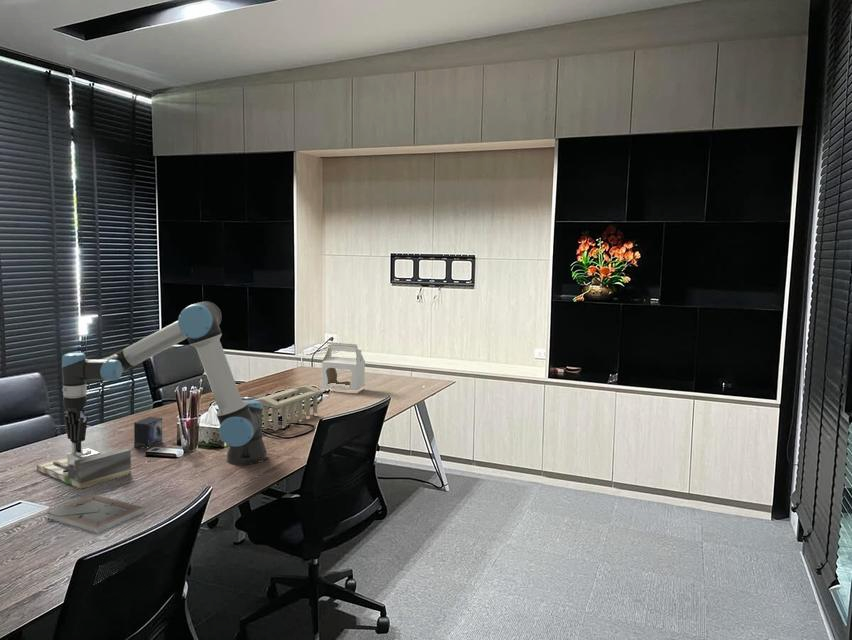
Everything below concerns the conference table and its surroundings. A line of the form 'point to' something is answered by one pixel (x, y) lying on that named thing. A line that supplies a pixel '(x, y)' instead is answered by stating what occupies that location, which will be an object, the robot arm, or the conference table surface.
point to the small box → (147, 432)
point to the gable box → (343, 367)
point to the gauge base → (90, 468)
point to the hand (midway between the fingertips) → (76, 458)
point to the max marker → (71, 472)
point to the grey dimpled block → (79, 456)
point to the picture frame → (95, 513)
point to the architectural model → (288, 404)
